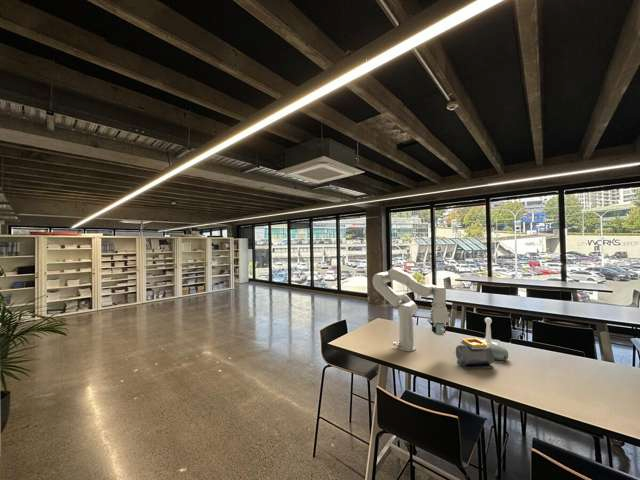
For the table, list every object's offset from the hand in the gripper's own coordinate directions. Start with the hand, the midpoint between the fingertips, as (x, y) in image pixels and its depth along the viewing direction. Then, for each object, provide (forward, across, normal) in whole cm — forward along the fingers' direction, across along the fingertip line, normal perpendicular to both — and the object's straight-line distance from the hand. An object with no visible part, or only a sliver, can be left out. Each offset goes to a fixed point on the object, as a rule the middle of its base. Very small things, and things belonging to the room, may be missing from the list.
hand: (438, 332), depth 174 cm
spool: (+15, +35, -7) cm, 39 cm away
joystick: (+15, +46, +14) cm, 50 cm away
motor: (+15, +15, -15) cm, 26 cm away
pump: (+1, 0, -1) cm, 2 cm away
